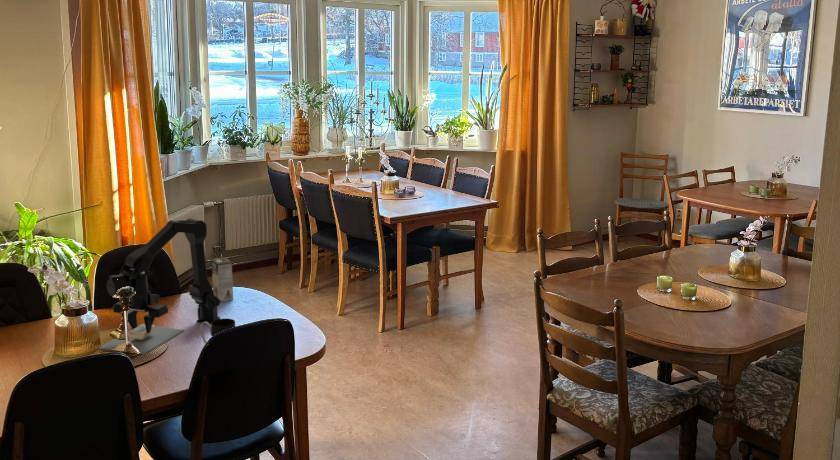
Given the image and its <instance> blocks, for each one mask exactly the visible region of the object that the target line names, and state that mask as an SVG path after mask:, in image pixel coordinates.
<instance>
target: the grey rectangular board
mask: <svg viewBox="0 0 840 460" xmlns="http://www.w3.org/2000/svg"><path fill="white" fill-rule="evenodd" d="M184 332H185V329H179V328H171V327H165V326H156V325H155V332H154V333H153V334H151V335H149V336H148V337H146V338H144V339H143V340H140V339H131V338H130V342H131V343H132V344H133V345H134V346H135V347H136V348H137V349H138V350H139V352H140V354H142V355H141V356H145V355H146V354H149V351H150V352H152V351H153V350H155V349H156V347H157V348H158V347H161V346H162V345H163V344H165V343H166V342H168V341H170V340H172V339H173V338H176V337H177V336H178V335H181V334H182V333H184ZM116 338H117V337H115V338H114V339H112V340H110V341H107V342H106V343H104V344H102V345H100V346H98V347H99V348H100V349H99V350H102V349H105V351H110V350H111V349H115V348H116V346H118V343H119V344H121V343H125V340H118V339H116ZM154 348H155V349H154ZM151 350H152V351H151ZM144 354H145V355H144Z"/></svg>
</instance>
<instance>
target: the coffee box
mask: <svg viewBox="0 0 840 460" xmlns="http://www.w3.org/2000/svg"><path fill="white" fill-rule="evenodd" d="M210 263H211V278H212V280H211V281H212V289H213V292H214V296H216V297H217V298H218V299H220V302H226V301H232V300H234V285H233V283H234V282H233V263H232V261H231V260H230V259H229V258H227V257H226V256H224V257H217V258H212V259H211V261H210Z"/></svg>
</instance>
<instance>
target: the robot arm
mask: <svg viewBox="0 0 840 460" xmlns="http://www.w3.org/2000/svg"><path fill="white" fill-rule="evenodd" d="M207 229H208V228H207V224H206V222H205V221H203V220H200V219H196V218H192V217H191V218H189V217H188V218H187V219H186V220H185V219H184V220H172V219H170V220H169V221H167V223H166V225H165V226H163V227H162V228H161V229H160V230H159V231H158V232H157V233H156V234H155V235H154V236H153V237H152V238H151V239H149V241H148V242H146V243H145V244H144V245H143V246H142V247H139V248H137V249H135V250H133V251H132V252H131V253H129V254H128V255H127V256H126V257H125V262H124V263H123V266H121V269H120V271H119V274H117V275H109V276H108V280H107V282H106V290H107V293H108V294H109V296H111V297H114V295H115V294H116V292H117V290H118V289H120V288H122V287H125V286H130V287H133V288H134V290H135V291H136V294H135V295H134V296H133V297H132V298H131V297H130V300H128V301H129V308H130V309H129V311H128V321H127V322H128V324H129V326H130V327H131V330H133V329H134V328H136V327H138V320H137V319H138V318H137V315H138V312H142V313H146V315H144V316H143V321H144V324H145V326H146V330H147V333H150V331H151V328H152V325H154V321H155V319H156V318H161V317H162V316H164V315H166V314H169V308H168V306H167V305H166V304H159V300H160V295H159V294H153V293H152V291H151V290H149V289H148V288H149V287H148V277H149V276H153V275H154V274H153V272H151V271H150V270H149V267H150V265H151V264H152V263H153V260H154V258H155V256H156V255H157V254H158V253H159V252H160V250H162V249H163V248H164V247H165V246H166V245H167V244H168V243H169V242H170V241H171V240H172V239H173V238H174V237H175V236H177V234H179V233H184V235H185V237H186V239H187V241H188V243H189V248H190V256H191V257H190V258H191V263H192V266H191V267H192V273H193V282H192V284H189V285H188V289H189V296H191V299H193V301H194V303H195V304H197V305H198V307H197V320H196V322H197V323H203V322H208V323H209V324H211V322H212V321H214V320H217V319H221V316H219V315H218V306H220V305H221V301H220V299H218V298H217V297H216V296H214V292H213V285H212V284H211V283H210V281H209V280H208V272H207V270H208V269H207V262H206V253H205V244H204V243H205V240H206V238H207V232H208V230H207ZM131 270H132V271H131ZM117 279H118V280H117ZM121 301H122V300H121ZM121 301H119V302H116V303H114V305H113V307H112V311H113V313H118V314H120V313H121V314H120V315H121V316H123V312H122V308H121ZM154 304H156V305H154ZM153 305H154V306H153Z"/></svg>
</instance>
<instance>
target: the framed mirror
mask: <svg viewBox="0 0 840 460" xmlns="http://www.w3.org/2000/svg"><path fill="white" fill-rule="evenodd" d="M155 326H156V325H154V324H152V328H151V331H150V333H147V330H146V326H145V323H141V324H140V325H137V327H136V328H134V329H131V330H129V331H128V332H129V338H131V339H140V340H143V339H144V338H146V337H148V336H149V335H151V334H153V333H154V332H155Z"/></svg>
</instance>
